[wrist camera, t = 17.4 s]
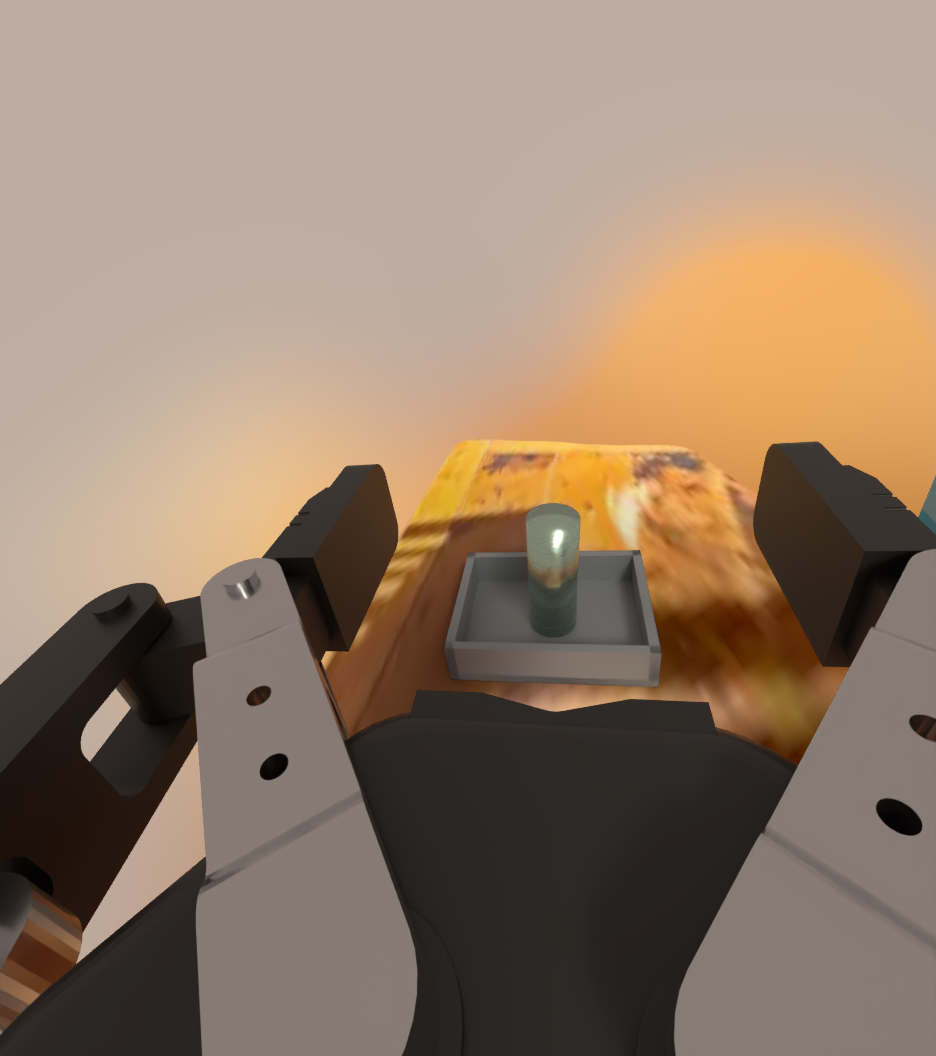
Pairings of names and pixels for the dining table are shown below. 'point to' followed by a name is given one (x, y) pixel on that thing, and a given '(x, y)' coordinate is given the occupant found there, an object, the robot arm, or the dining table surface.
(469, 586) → the tote
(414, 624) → the dining table surface
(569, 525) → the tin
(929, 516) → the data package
